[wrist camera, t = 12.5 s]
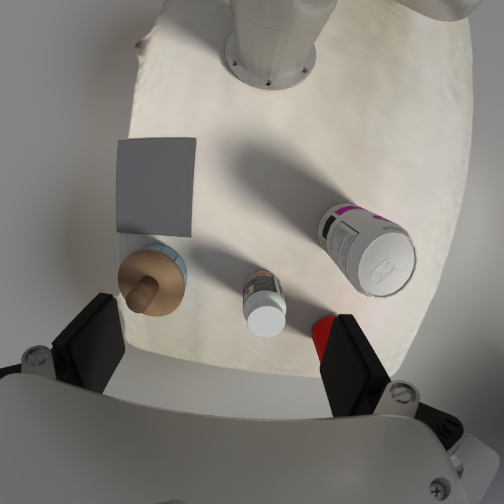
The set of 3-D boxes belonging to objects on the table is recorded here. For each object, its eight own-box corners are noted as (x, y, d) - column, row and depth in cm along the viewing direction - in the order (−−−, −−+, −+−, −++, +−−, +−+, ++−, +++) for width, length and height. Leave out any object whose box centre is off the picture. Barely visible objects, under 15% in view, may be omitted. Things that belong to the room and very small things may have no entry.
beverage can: (312, 313, 43) (330, 360, 31) (347, 311, 43) (373, 356, 31) (308, 342, 45) (322, 391, 33) (341, 340, 45) (362, 387, 33)
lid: (117, 246, 35) (97, 261, 29) (184, 251, 35) (172, 268, 29) (124, 308, 38) (109, 329, 32) (186, 316, 38) (177, 340, 33)
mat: (119, 140, 34) (118, 140, 34) (196, 138, 34) (196, 138, 34) (117, 231, 38) (116, 232, 38) (191, 236, 39) (190, 237, 38)
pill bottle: (236, 292, 42) (233, 329, 32) (256, 262, 40) (257, 293, 31) (268, 309, 42) (272, 347, 33) (288, 280, 41) (298, 314, 32)
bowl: (131, 241, 39) (120, 249, 35) (188, 245, 39) (181, 254, 35) (135, 294, 42) (126, 306, 38) (188, 301, 42) (182, 314, 38)
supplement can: (346, 190, 37) (398, 208, 22) (376, 232, 39) (431, 267, 24) (305, 227, 38) (336, 265, 24) (338, 266, 40) (377, 317, 26)
